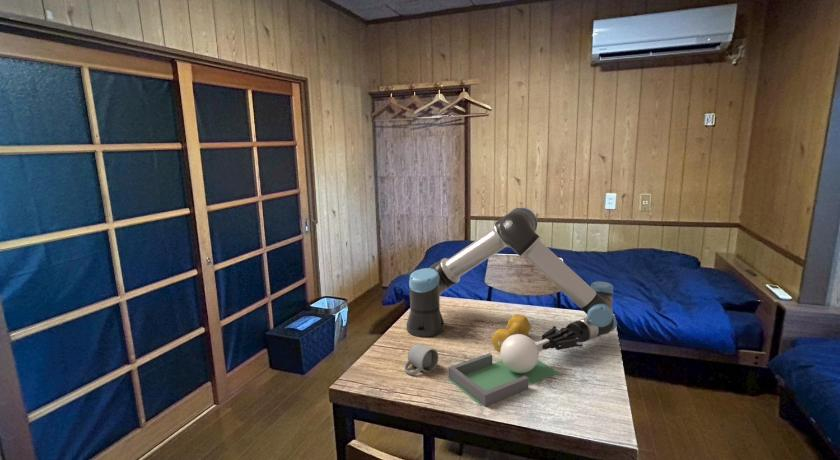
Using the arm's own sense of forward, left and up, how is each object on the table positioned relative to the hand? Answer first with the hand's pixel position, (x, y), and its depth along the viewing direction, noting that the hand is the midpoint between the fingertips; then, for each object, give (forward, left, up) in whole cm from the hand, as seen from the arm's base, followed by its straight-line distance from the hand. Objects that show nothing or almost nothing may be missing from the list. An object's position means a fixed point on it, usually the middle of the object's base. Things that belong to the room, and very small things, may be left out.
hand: (533, 348), depth 140 cm
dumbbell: (-16, +5, -7) cm, 18 cm away
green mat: (0, -12, -6) cm, 14 cm away
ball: (0, -6, 0) cm, 6 cm away
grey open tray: (0, -19, -6) cm, 20 cm away
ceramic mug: (-19, -32, -7) cm, 38 cm away
